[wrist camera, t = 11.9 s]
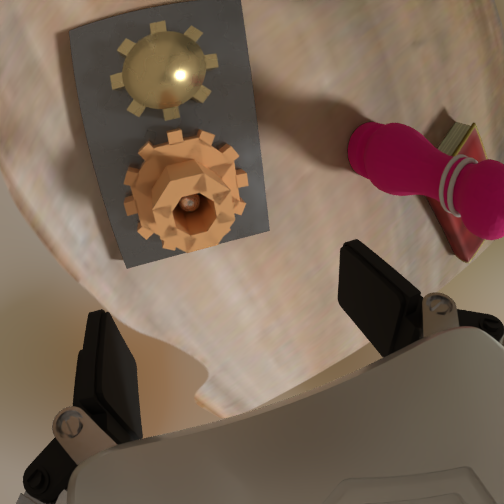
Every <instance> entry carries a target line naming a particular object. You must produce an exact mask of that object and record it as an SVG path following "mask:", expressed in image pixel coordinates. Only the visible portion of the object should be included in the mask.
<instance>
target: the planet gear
mask: <svg viewBox="0 0 504 504" xmlns="http://www.w3.org/2000/svg"><path fill="white" fill-rule="evenodd" d="M166 133H167V138H168V142H165V143H161V144H157V145H154V146H153V145H152V143H151V142H150V141H148V142H147V143H146V144H145V145H143V146H142V147H141V148H140V149H139V151H138V154H139V155H140V156H141V157H142V158H143V159H144V162H143V163H142V165H141V167H140V168H139V169H136V168H132V167H128V170H127V173H126V177H125V180H124V184H125V185H129V186H130V187H131V190H132V194H133V195H132V196H128V197H125V200H124V207H125V210H126V213H127V216H129V215H133V214H136V213H138V216H139V219H140V222H139V223H138V227H137V232H138V233H139V234H140V235H142V236H143V237H144V238H145V239H146V240H147V239H148V238H149V237H150V236H151V235H152V234H153V233H155V234H157V235H159V236H160V239H161V240H162V247H163V248H165V249H169V250H174V251H175V249H176V247H177V248H179V249H181V250H183V251H185V252H187V253H189V252H193V251H197V250H200V249H204V248H208V247H212V246H215V245H218V243H219V242H220V241H221V239H222V238H223V236H225V235H226V234H227V233H228V232H229V231H230V230H231V229H230V227H231V225H232V224H233V222H234V221H235V215H234V213H235V214H239V215H242V213H243V210H244V208H245V205H246V203H245V202H244V200H243V199H242V198H240V197H239V190H238V188H240V187H245V186H249V185H248V178H247V173H246V172H245V171H244V170H242V169H238V170H235V163H234V160H236V159H237V158H238V157H239V155H238V154H237V152H236V151H235V150H234V149H233V148H232V146H230V145H229V144H227V143H226V144H225V145H224V146H223V147H222V148H220V149H219V150H217V149H216V148H214V147H213V146H211V145H212V142H213V140H214V137H215V135H214V134H212V133H210V132H207V131H204V130H201V129H199V130H198V133H197V135H196V136H191V137H187V138H183V136H182V130H181V129H180V128H178V129H173V130H169V131H166ZM196 193H200V194H199V197H200V205H199V207H198V208H197V209H196V210H195V211H193V212H186V211H184V210H183V209H181V207H180V205H179V203H178V202H179V200H180V199H181V197H184V196H188V195H192V194H196Z"/></svg>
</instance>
